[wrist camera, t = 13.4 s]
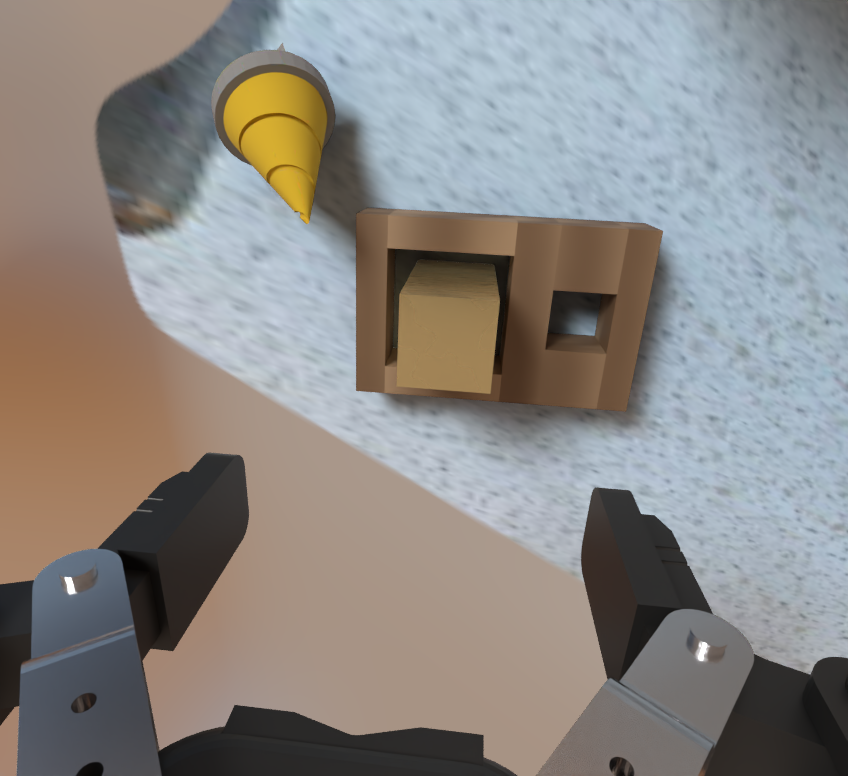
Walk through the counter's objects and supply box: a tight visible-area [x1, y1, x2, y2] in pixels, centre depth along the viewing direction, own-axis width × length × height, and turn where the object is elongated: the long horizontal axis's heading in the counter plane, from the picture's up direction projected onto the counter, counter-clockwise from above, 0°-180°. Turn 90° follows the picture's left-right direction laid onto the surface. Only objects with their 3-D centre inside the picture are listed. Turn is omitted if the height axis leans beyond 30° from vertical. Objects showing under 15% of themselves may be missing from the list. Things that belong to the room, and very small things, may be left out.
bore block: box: [356, 208, 663, 411], centre depth 29 cm, size 14×9×3 cm, turn 87°
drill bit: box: [211, 43, 335, 224], centre depth 25 cm, size 5×5×10 cm
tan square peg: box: [397, 259, 500, 394], centre depth 27 cm, size 4×4×8 cm
